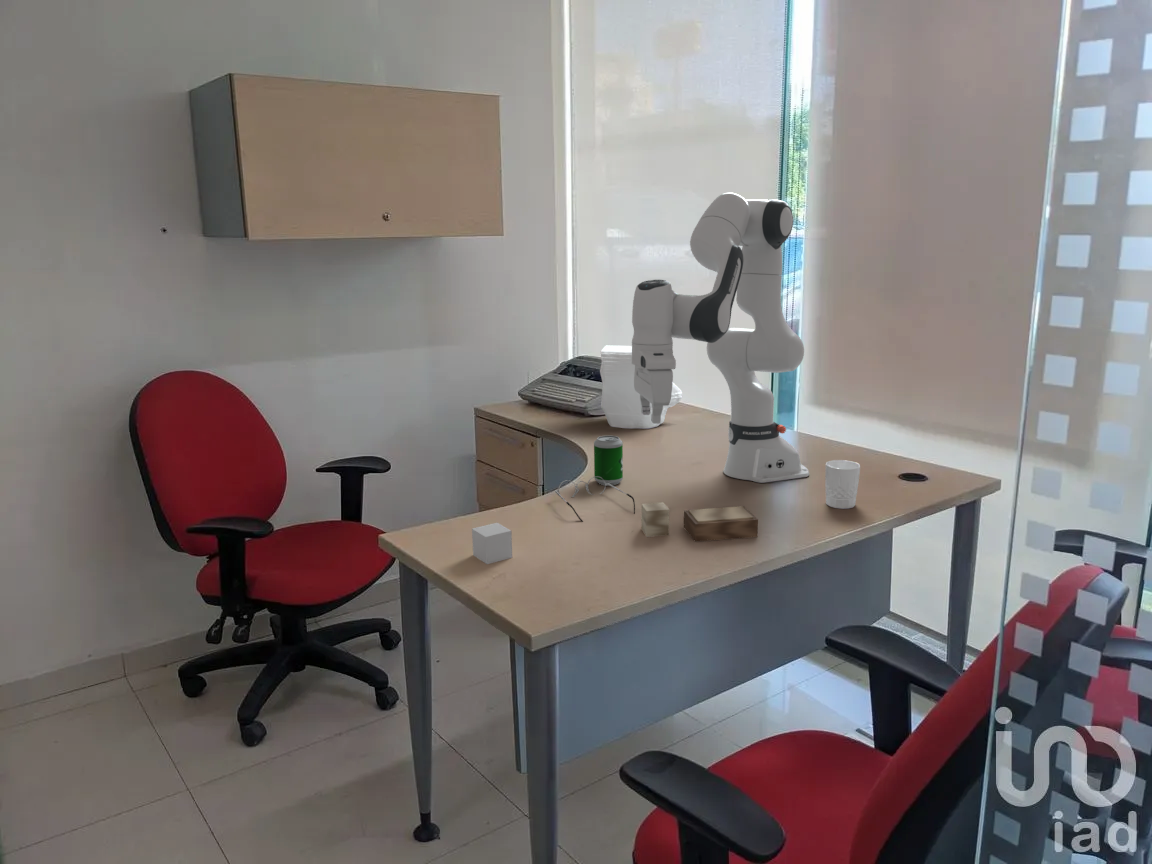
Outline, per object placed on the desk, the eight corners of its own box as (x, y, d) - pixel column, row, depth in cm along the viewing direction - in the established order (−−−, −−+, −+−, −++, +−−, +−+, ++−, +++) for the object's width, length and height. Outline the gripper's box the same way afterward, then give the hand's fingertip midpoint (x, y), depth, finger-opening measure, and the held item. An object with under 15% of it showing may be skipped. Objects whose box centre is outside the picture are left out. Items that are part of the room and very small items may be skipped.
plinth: (743, 522, 194) (743, 504, 193) (757, 536, 185) (758, 518, 184) (683, 527, 192) (683, 509, 190) (695, 541, 183) (695, 522, 182)
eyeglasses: (610, 492, 218) (609, 473, 217) (640, 515, 201) (640, 495, 200) (550, 500, 213) (550, 481, 212) (577, 524, 196) (576, 503, 195)
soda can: (620, 487, 221) (620, 442, 218) (592, 485, 222) (591, 441, 219) (624, 478, 228) (624, 435, 225) (597, 477, 229) (596, 434, 226)
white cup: (840, 512, 200) (842, 471, 197) (816, 502, 206) (818, 462, 204) (864, 506, 203) (867, 466, 201) (840, 497, 210) (843, 458, 207)
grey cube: (486, 564, 173) (485, 537, 172) (473, 555, 178) (471, 528, 176) (512, 557, 176) (511, 530, 175) (498, 549, 181) (497, 522, 180)
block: (663, 527, 192) (663, 502, 190) (668, 535, 187) (668, 509, 186) (641, 529, 191) (641, 503, 190) (646, 537, 186) (646, 511, 185)
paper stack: (609, 415, 300) (608, 343, 294) (683, 421, 290) (684, 346, 284) (586, 429, 281) (585, 352, 275) (665, 436, 271) (665, 356, 265)
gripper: (627, 350, 195) (626, 409, 198) (648, 362, 175) (647, 428, 178) (654, 350, 196) (653, 409, 199) (678, 362, 176) (676, 427, 179)
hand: (650, 418), depth 188 cm, fingers open, 8 cm apart
